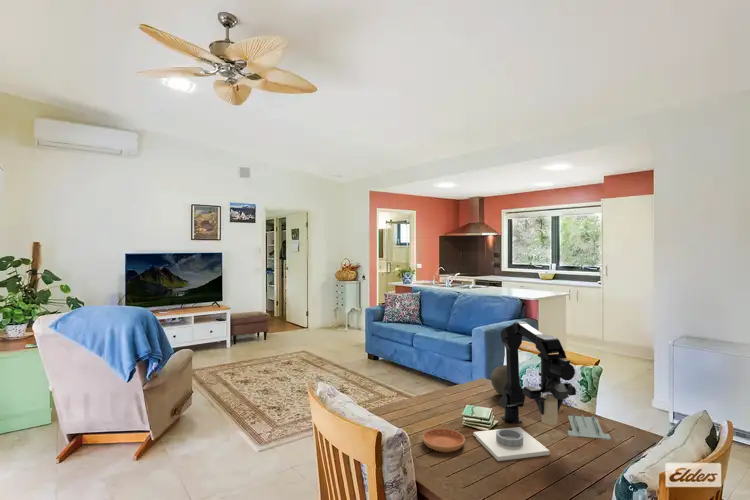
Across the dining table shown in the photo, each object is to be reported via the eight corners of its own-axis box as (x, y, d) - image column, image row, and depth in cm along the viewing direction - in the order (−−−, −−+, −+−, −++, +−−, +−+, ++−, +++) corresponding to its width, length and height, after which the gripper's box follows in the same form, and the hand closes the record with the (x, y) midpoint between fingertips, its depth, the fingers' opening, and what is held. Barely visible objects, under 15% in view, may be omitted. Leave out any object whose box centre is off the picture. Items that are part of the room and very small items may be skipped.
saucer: (439, 431, 170) (439, 424, 170) (473, 444, 159) (473, 436, 159) (413, 445, 159) (413, 437, 159) (448, 460, 148) (448, 451, 148)
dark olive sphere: (488, 390, 216) (488, 361, 216) (516, 391, 215) (516, 362, 215) (493, 400, 202) (493, 369, 202) (523, 401, 201) (523, 370, 201)
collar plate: (473, 435, 166) (473, 425, 166) (519, 430, 170) (519, 420, 170) (497, 461, 146) (497, 449, 146) (549, 454, 150) (549, 443, 150)
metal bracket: (562, 410, 176) (601, 413, 173) (562, 421, 178) (600, 424, 174) (569, 434, 163) (612, 437, 160) (568, 446, 165) (611, 450, 161)
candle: (556, 426, 151) (556, 398, 151) (540, 423, 154) (540, 396, 154) (558, 420, 156) (558, 394, 156) (542, 417, 159) (542, 391, 159)
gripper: (539, 380, 145) (539, 425, 145) (586, 376, 149) (586, 420, 149) (521, 371, 156) (521, 412, 156) (565, 367, 160) (566, 408, 160)
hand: (549, 413), depth 155 cm, fingers closed on candle, 5 cm apart
